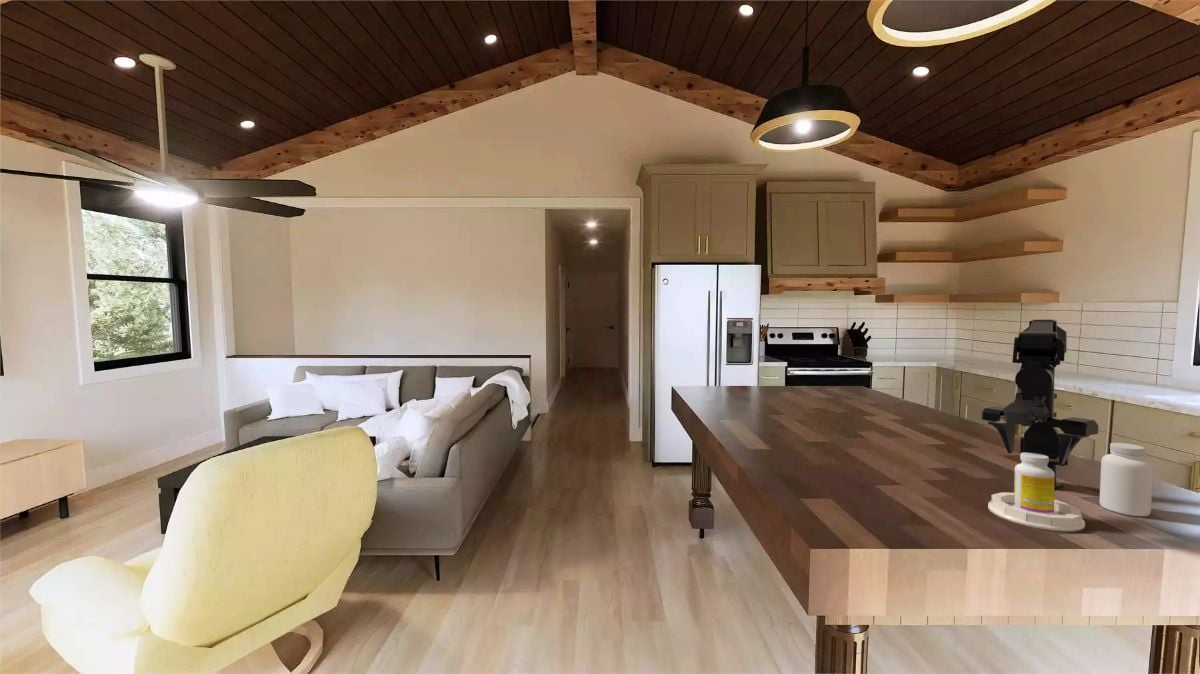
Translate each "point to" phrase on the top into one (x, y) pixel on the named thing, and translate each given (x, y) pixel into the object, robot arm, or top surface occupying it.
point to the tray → (1037, 514)
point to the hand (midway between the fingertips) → (1034, 458)
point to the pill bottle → (1126, 480)
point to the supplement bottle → (1034, 484)
